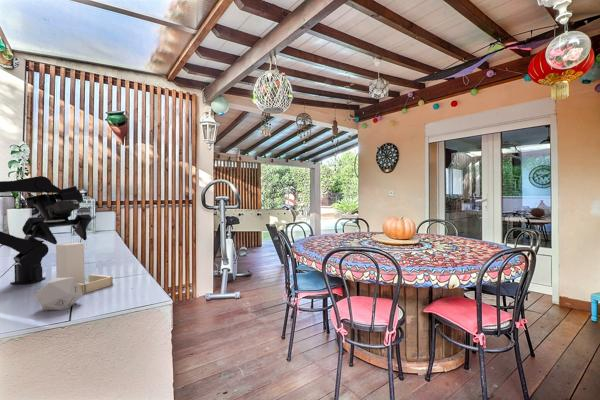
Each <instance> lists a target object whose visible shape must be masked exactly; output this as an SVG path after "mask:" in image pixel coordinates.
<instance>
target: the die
mask: <svg viewBox="0 0 600 400" xmlns="http://www.w3.org/2000/svg"><path fill="white" fill-rule="evenodd" d="M83 295H84V294H83V293H82V291H81V289H80V288H79V286H78V284H77V282H76V280H75V278H74V277H72V278H57V277H53V278H52V279H51V280H50V281H49V282H47V283H46V284H45V285H44V286H43V287H41V288H40V289H39V290H38V291H37V292H36V293H34V296H35V298H36V299H37V301H38V303H39V305H40V307H41V308H42V310H44V311H61V310H66V309H69V308H71V307H72V306H73V305H74V304H75V303H76V302H77V301H79V299H81V297H82V296H83Z"/></svg>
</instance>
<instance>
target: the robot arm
mask: <svg viewBox="0 0 600 400" xmlns="http://www.w3.org/2000/svg"><path fill="white" fill-rule="evenodd" d="M11 192H12V193H13V192H14V193H29V194H30V193H31V194H39V193H40V194H39V195H33V196H32V195H29V196H28V197H27V198H26V199H25V202H26V207H31V206H35V207H36V209H37V210H38V211H39V213H40V216H35V217H34V216H33V217H28V218H27V219H26V221H25V223H24V225H23V226H22V230H21V231H22V232H23V234H24V235H25V236H24V238H23V237H18V236H15V235H13V234H9V233H6V232H3V231H0V245H2V246H5V247H7V248H10V249H12V250H14V251H15V252H18V253H17V254H16V255H15V256H14V257H13V260H14V262H15V264H14V265H13V266H14V281H12V282H9V284H10V285H30V284H33V283H36V282H39V281H42V280H45V279H46V276H43V266H42V261H43V258H45V257H46V256H47V255H48V252H49V246H48V245H47V244H46V243H45V241H46V242H49V243H50V244H52V245H58V241H57V238H56V237H55V235H54V234H53V232H52V231H51V229H50V228H61V227H69V226H71V227H72V229H73V231H74V232H75V233H76V234H77V235H78V236H79V237H80V238H81V239H82V240H83V241H86V240H87V239H88V235H87V227H88V226H89V225H90V223H91V222H92V220H93V217H92V215H90V214H89V213H87V214H76V216H75V218H73V219H71V218H70V217H71V216H72V212H73V211H76V210H78V209H79V208H80V206H81V205H80V204H83V203H84V197H83V194H82V193H81V191H80V189H78V187H77V185H73V186H69V187H66V188H59V187H57V186H56V185H55V184H53V183H52V181H51V180H50V178H48V177H46V176H44V175H39V176H38V175H37V176H33V177H28V178H21V179H16V180H4V181H3V180H2V181H0V194H1V193H11ZM69 218H70V219H69ZM35 237H36V238H35ZM37 238H39V239H37ZM41 239H42V240H41Z"/></svg>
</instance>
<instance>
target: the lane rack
mask: <svg viewBox="0 0 600 400" xmlns="http://www.w3.org/2000/svg"><path fill="white" fill-rule="evenodd" d="M113 279H114V278H113V276H110V275H101V274H92V273H91V274H89V275H88V280H86V279H85V284H82V283H77V284H78V286H79V288H80V289H81V291H82V293H83V295H84V294H87V293H90V292H93V291H97V290H100V289H104V288H106V287H110V286H113V285H115V283H114V282H113V281H114V280H113Z"/></svg>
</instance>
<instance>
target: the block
mask: <svg viewBox="0 0 600 400" xmlns="http://www.w3.org/2000/svg"><path fill="white" fill-rule="evenodd" d="M55 255H56V256H55V260H56V263H55V265H56V278H72V277H74V278H75V280H76V282H77V283H82V284H85V280H86V279H85V277H86V275H85V272H86V271H85V243H84V242H74V241H73V242H67V243H59V244H58V243H57V244H55Z"/></svg>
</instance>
